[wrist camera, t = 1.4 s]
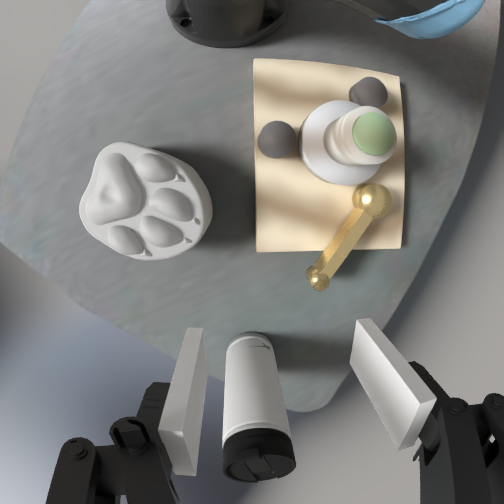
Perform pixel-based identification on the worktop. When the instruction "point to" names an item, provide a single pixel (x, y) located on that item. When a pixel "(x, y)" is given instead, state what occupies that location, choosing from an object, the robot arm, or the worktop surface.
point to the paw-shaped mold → (145, 202)
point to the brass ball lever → (350, 232)
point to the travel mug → (254, 413)
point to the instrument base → (290, 181)
